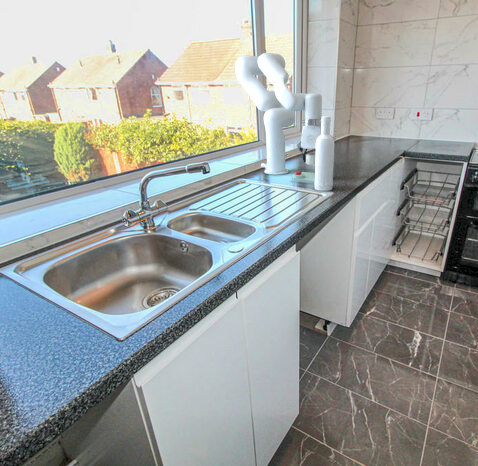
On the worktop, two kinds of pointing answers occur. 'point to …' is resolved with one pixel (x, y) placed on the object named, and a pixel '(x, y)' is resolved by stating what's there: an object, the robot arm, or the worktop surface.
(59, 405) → the worktop surface
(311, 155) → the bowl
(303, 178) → the scale
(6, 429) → the worktop surface
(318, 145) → the bottle
